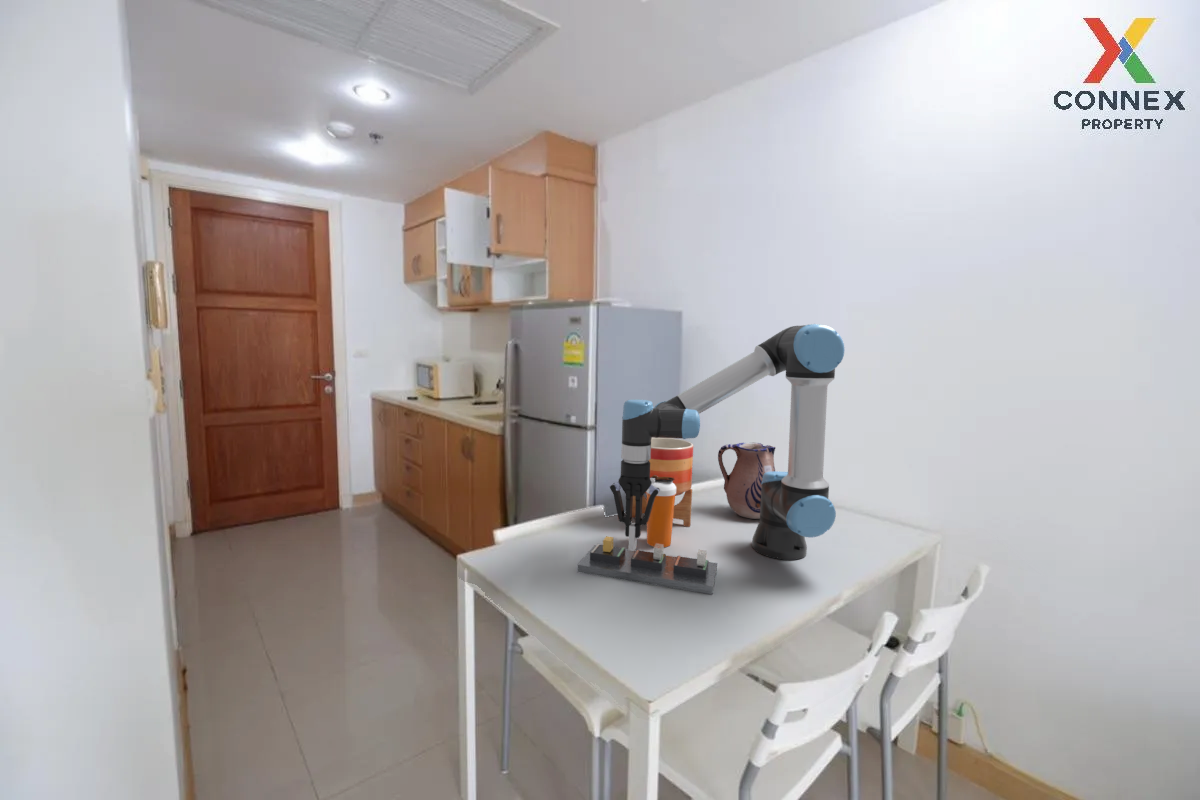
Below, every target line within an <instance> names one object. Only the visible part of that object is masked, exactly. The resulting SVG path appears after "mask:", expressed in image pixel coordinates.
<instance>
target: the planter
mask: <svg viewBox="0 0 1200 800" xmlns="http://www.w3.org/2000/svg"><path fill="white" fill-rule="evenodd" d="M649 462H650V478H651V477H652V476H653V475H656V476H658V477H672V478H674V480H673V483H674V484H675V486H676V495H675V497H677V496H681V495H683V496H682V499H681V500H680V501H679V502H678V503H676V504H674V515H673V520H674V519H675V520H679V521H680V520H681V521H682V523H683V524H682V525H683V527H688V528H689V527H691V523H692V520H691V519H692V504H693V502H692V500H693V488H692V487H693V486H692V484H693V462H694V444H693V443H692V442H690V441H688V440H686V439H682V438H652V439H651V459H650V460H649ZM645 494H646V495H647V493H646V492H645V493H644V495H643V499H642V515H644V513H645V510H646V507H647V497H645ZM635 497H636V496H633V506H632V519H635V510H636V500H635Z"/></svg>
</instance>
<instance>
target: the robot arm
mask: <svg viewBox="0 0 1200 800" xmlns="http://www.w3.org/2000/svg"><path fill="white" fill-rule="evenodd" d="M844 355H845V343H844V340H843V338H842V337H841V335H840V334H839V332H838V331H837V330H835V329H834V328H832V327H831V326H828V325H826V324H825V325H824V324H816V323H813V324H812V323H811V324H805V325H804V324H803V325H794V326H793V325H792V326H789V327H787V328H784V329H782V330H781V331H779V332H778V333H776V334H774V335H772V336H771V337H770V338H768V339H766V340H764V341H763V342H761V343H760V344H758V345H756V346H755V347H754V350H753V352H751V353H750V354H748V355H746V356H744V357H742V358H740V359H739V360H737V361H735V362H734V363H732V364H730V365H728V366H727V367H725V368H723V369H721V370H720V371H717V372H716V373H714V374H712V375H710V376H709V377H707V378H705V379H703V380H702V381H700V382H698V383H696V384H695V385H693V386H692V387H690V388H688V389H686V390H684V391H682V392H681V393H679V394H677V395H676V396H674V397H672V398H670V399H668V400H667V401H660V402H658V403H657V404H655V405H653V404H654V403H653V401H652V400H648V399H628V400H626V401H625V402H624V403H623V408H622V410H623V411H622V418H621V419H622V420H621V421H622V425H621V426H622V427H621V454H620V458H621V459H622V460H621V461H620V476H619V478H618V481H617V482H614V483H612V484H610V486H609V489H610V491H611V493H612V494H613V498H614V504H615V509H616V513H617V519H618V521H619V522H620V523H624V525H625V527H624V529H625V532H624V535H625V537H628V547H627V550H630V551H636V550H637V542H638V541H637V539H639V538H640V537H641V535H642V533H641V531H642V526H647V522H648V520H649V517H650V513H651V510H652V507H653V503H654V500H655V497H656V495H657V494H658V493H659V491H660V489H659V488H655V487H654V486H653V485H652V482H651V480H650V462H649V460H650V459H651V439H652V438H674V439H681V440H686V439H696V438H697V437H698V435H699V433H700V430H701V417H700V414H701V413H703V412H705V411H707V410H709V409H710V408H712V407H714V406H716V405H717V404H719V403H722V402H723V401H725V400H726V399H728V398H730V397H731V396H733V395H735V394H737V393H739V392H741V391H743V390H744V389H746V388H748V387H749V386H752V385H753V384H754V383H755V384H756V382H758V381H760V380H762V379H764V378H765V377H767V376H769V377H770V376H771V377H775V376H777V375H778V374H780V373H782V372H785V379H786V380H787V381H788V382H789V383H790V385H791V387H790V389H791V391H790V411H789V412H790V413H789V433H788V434H789V435H788V438H789V439H788V440H789V441H788V460H787V461H788V463H787V465H788V466H787V471H778V470H777V471H776V470H775V471H772V472H766V473H764V475H763V479H762V483H761V485H762V490H761V507H760V519H759V522H758V524H757V527H756V529H755V532H754V534H753V536H752V540H751V547H752V549H753V550H754V551H756V553H758V554H760V555H763V556H765V557H769V558H772V559H777V560H786V561H787V560H789V561H790V560H800V559H803V558H805V557H806V556H807V554H808V553H807V552H808V551H807V550H808V546H807V541H806V538H817V537H820V536H823V535H824V534H825V533H826V532H828V531H829V530H830V529H831V528H832V526H833V525H834V524H835V521H836V516H837V515H836V514H837V512H836V508H835V506H834V503H832V501H831V500H830V499H829V493H830V492H829V491H830V483H829V482H828V481H827V480H826V479H825V478H824V464H825V463H824V462H825V445H826V443H825V441H826V424H827V423H826V422H827V421H826V420H827V405H828V404H827V402H828V401H827V400H828V399H827V398H828V386H829V384H830V383H831V382H832V381H834V380H835V376H836V375H835V374H836V368H837V367H838V366H839V365H840V363H842V361H843V359H844ZM621 489H622V491H623V492H624V494H625V508H624V503H623V498H622V493H621ZM648 489H650V491H649V494H650V497H649V500H648V503H647V507H646V510H645V513H644V514H642V499H643V495H644V496H645V494H646V493H645V492H646V491H647V490H648ZM633 496H636V497H635V500H636V510H635V518H632V506H633ZM633 519H634V522H632V521H633Z"/></svg>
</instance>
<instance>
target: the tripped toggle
mask: <svg viewBox="0 0 1200 800" xmlns="http://www.w3.org/2000/svg"><path fill="white" fill-rule="evenodd" d="M614 538H615V537H613V536H605V537H604V539H603V540H602V545H603V551H605V552H611V550H612V549H613V547H614Z"/></svg>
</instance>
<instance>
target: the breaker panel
mask: <svg viewBox="0 0 1200 800" xmlns="http://www.w3.org/2000/svg"><path fill="white" fill-rule="evenodd" d="M664 549H665V547H664V544H657V543H656V544H655V546H654V547H653V551H647V550H640V549H635V550H634V551H630V550H628V549H626V548H625V547H621V546H620V547H618V546H613V549H612V550H611V552H605V551H603V544H600V543H597V544H593V546H592V547H591V548H590V550H589V551H587V553H586V554H585V555H584V557H583V558H582V559H581V560H580V561H579V563H578V564H577V570H576V571H577V573H580V574H581V573H582V574H585V575H592V576H599V577H604V578H610V579H617V580H622V581H623V580H624V581H627V582H628V581H629V582H635V583H639V584H647V585H652V586H659V587H664V588H671V589H675V590H676V589H677V590H681V591H687V592H688V591H689V592H695V593H701V594H706V595H713V592H714V587H715V583H716V578H717V572H718V562H712V561H709V560H708V559H707V556H708V555H707V553H708V551H707V550H704V549H698V551H697V556H696V558H692V557H687V556H686V557H685V556H681V555H677V556H673V555H667V553H664Z"/></svg>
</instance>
